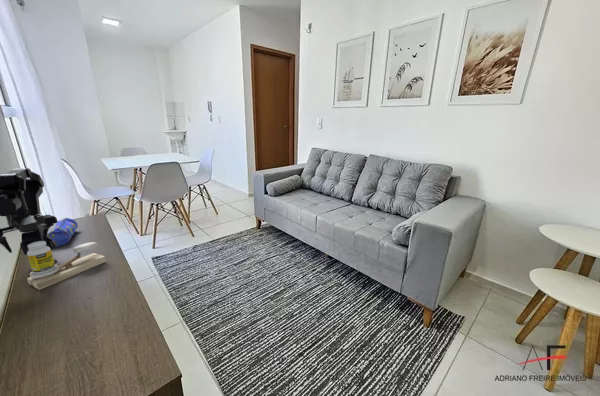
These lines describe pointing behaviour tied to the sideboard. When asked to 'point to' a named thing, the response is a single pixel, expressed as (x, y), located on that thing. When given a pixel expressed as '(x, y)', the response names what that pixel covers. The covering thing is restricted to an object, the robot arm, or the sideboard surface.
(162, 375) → the sideboard surface
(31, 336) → the sideboard surface
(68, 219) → the pencil case
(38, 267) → the pill bottle
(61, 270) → the balance
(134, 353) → the sideboard surface
